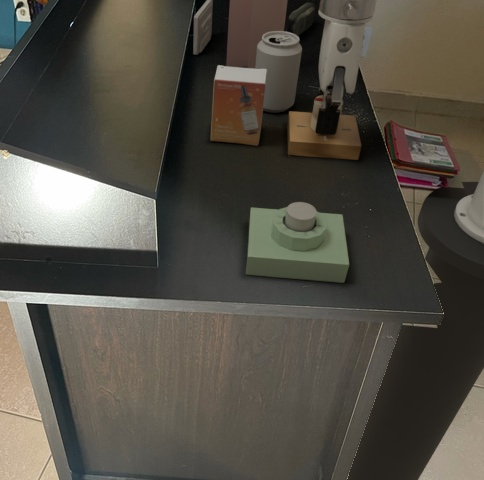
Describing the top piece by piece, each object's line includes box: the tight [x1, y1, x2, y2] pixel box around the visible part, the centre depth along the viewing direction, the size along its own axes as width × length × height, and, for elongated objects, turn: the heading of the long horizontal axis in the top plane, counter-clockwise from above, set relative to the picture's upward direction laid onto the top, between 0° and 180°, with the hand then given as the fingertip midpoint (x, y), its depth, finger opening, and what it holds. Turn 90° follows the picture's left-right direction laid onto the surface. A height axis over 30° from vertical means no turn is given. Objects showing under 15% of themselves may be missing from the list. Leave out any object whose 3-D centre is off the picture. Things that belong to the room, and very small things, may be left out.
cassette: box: [192, 0, 214, 56], centre depth 120 cm, size 12×2×8 cm, turn 164°
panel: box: [286, 110, 362, 161], centre depth 94 cm, size 11×10×3 cm
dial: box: [310, 95, 344, 131], centre depth 91 cm, size 4×4×5 cm
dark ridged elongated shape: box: [285, 2, 316, 37], centre depth 127 cm, size 5×3×15 cm
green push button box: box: [245, 206, 350, 284], centre depth 72 cm, size 12×10×5 cm
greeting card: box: [225, 0, 289, 69], centre depth 109 cm, size 11×7×15 cm, turn 105°
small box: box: [209, 64, 267, 147], centre depth 92 cm, size 8×6×10 cm
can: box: [255, 30, 303, 114], centre depth 99 cm, size 8×8×12 cm
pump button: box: [285, 201, 317, 232], centre depth 70 cm, size 4×4×2 cm
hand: (324, 124), depth 92 cm, fingers closed on dial, 4 cm apart
